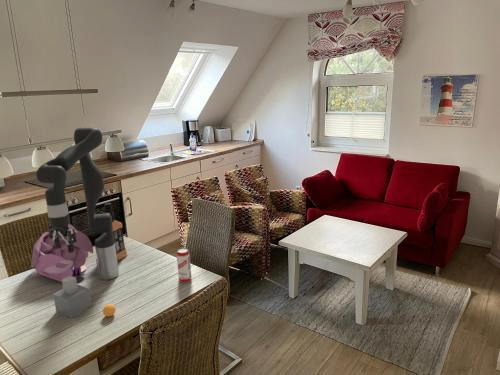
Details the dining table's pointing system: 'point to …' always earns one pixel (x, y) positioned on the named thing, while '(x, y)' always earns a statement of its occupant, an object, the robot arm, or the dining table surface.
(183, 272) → the beer can
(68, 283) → the grey stepped block
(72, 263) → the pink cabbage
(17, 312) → the dining table surface
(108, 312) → the ball
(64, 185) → the robot arm
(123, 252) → the whiskey bottle
